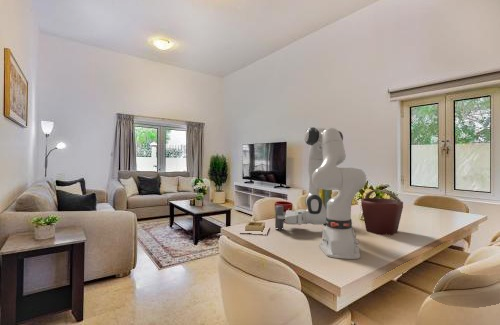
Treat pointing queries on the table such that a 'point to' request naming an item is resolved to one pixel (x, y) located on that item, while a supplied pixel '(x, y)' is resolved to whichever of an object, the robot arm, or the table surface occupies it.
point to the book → (325, 196)
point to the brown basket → (382, 213)
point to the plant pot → (284, 205)
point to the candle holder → (255, 226)
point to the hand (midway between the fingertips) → (277, 215)
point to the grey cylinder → (277, 221)
